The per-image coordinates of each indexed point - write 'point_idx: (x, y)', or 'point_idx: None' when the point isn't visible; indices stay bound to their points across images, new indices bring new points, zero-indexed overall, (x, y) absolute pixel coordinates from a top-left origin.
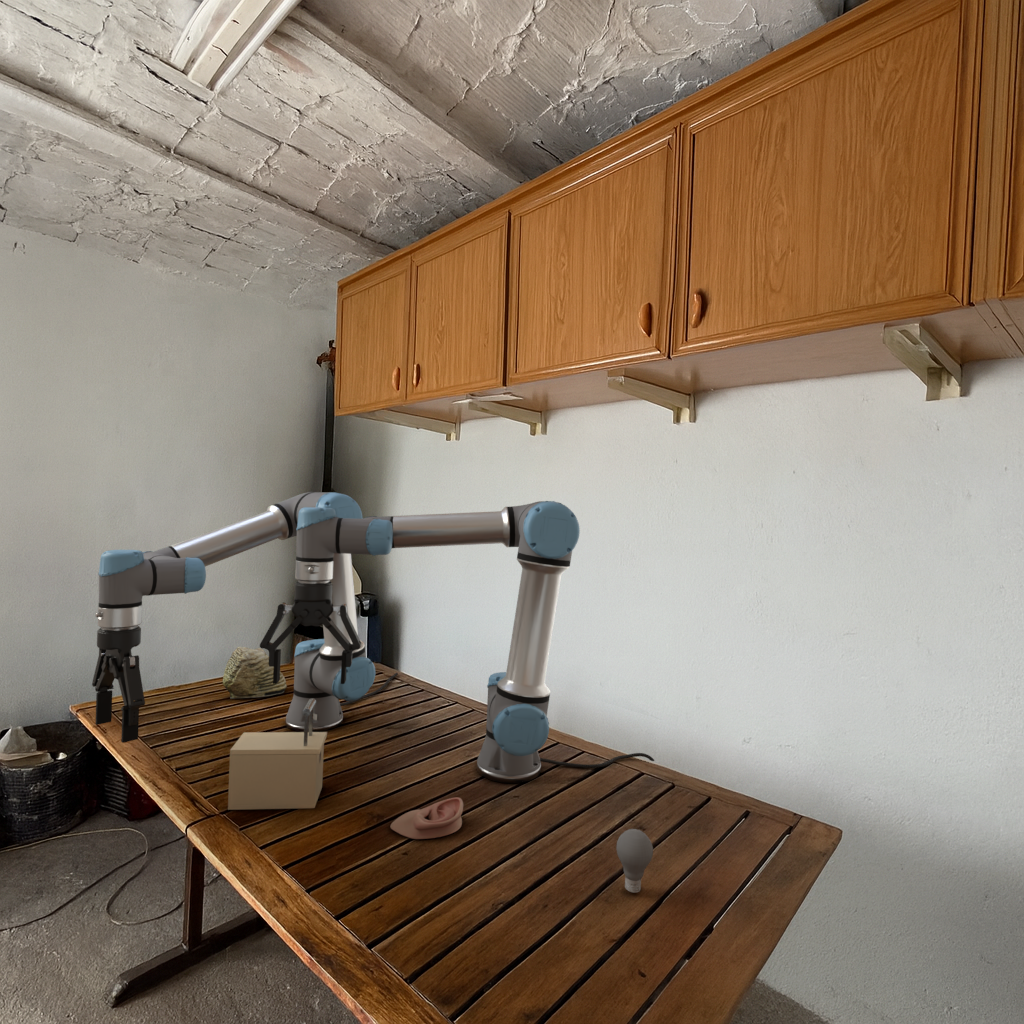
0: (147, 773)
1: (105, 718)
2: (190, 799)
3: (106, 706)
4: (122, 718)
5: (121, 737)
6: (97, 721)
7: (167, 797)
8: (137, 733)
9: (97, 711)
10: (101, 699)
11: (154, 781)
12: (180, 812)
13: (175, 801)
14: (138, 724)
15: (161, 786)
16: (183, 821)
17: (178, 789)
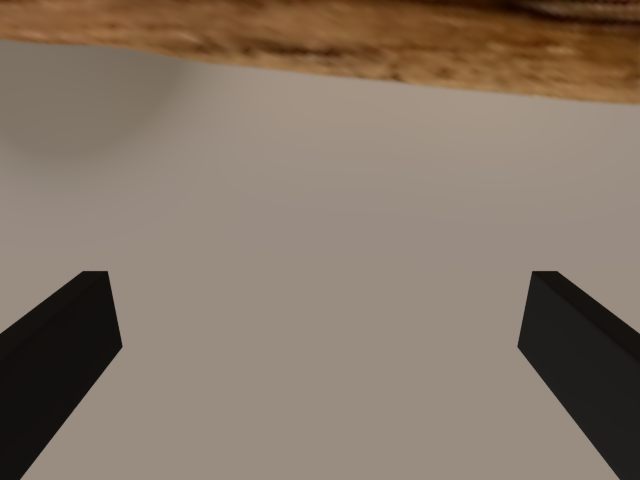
0: (166, 29)
1: (98, 320)
2: (500, 10)
3: (44, 374)
4: (620, 470)
5: (532, 364)
6: (110, 356)
7: (421, 64)
8: (578, 292)
9: (72, 407)
10: (2, 469)
11: (258, 41)
12: (557, 82)
13: (471, 58)
14: (622, 321)
15: (319, 40)
16: (618, 102)
17: (389, 4)
